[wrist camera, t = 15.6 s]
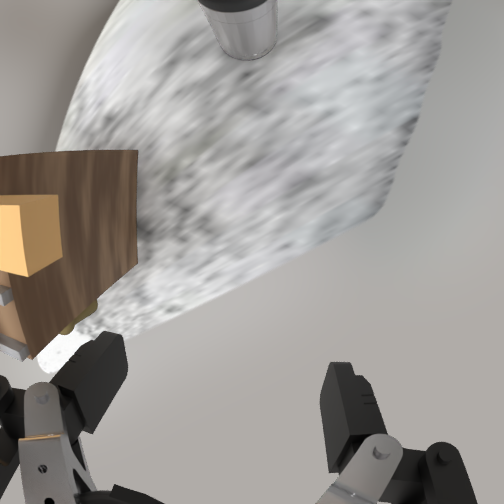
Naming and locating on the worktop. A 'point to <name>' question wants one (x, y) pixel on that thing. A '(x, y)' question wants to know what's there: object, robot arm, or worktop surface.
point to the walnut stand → (69, 241)
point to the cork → (80, 318)
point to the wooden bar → (29, 233)
